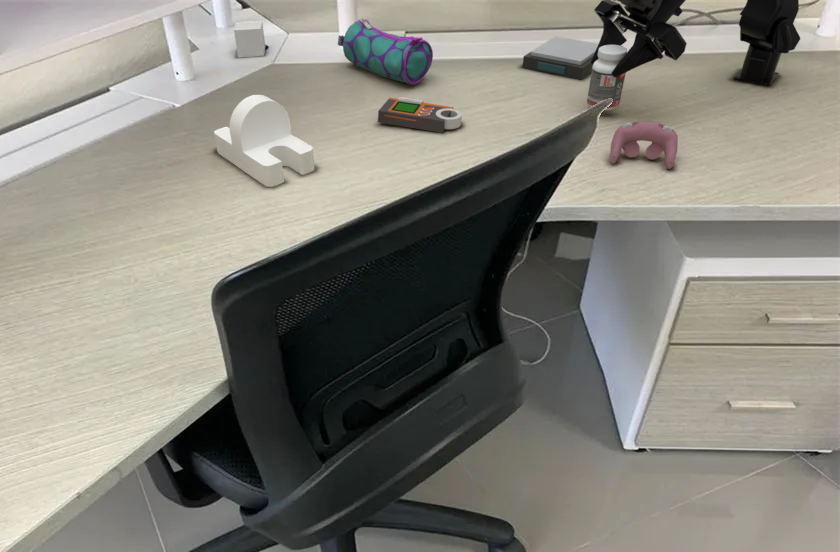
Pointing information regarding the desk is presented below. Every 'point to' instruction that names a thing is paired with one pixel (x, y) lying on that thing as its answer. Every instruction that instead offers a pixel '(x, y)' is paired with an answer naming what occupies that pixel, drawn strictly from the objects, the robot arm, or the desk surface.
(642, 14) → the robot arm
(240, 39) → the light grey cube
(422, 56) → the pencil case
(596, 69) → the pill bottle
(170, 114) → the desk surface
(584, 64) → the scale
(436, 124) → the electronic device
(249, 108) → the white slotted bracket
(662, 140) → the video game controller
